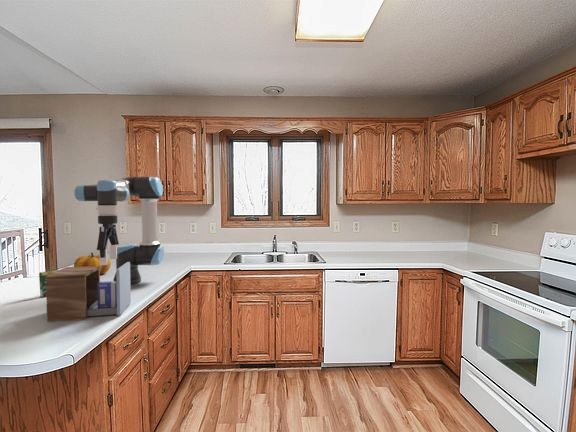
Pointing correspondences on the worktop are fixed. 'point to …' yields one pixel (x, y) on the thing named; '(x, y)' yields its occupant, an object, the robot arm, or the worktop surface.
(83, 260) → the decorative pumpkin
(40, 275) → the coffee box
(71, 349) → the worktop surface
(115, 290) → the walkman
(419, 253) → the worktop surface
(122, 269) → the drawer
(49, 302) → the block
